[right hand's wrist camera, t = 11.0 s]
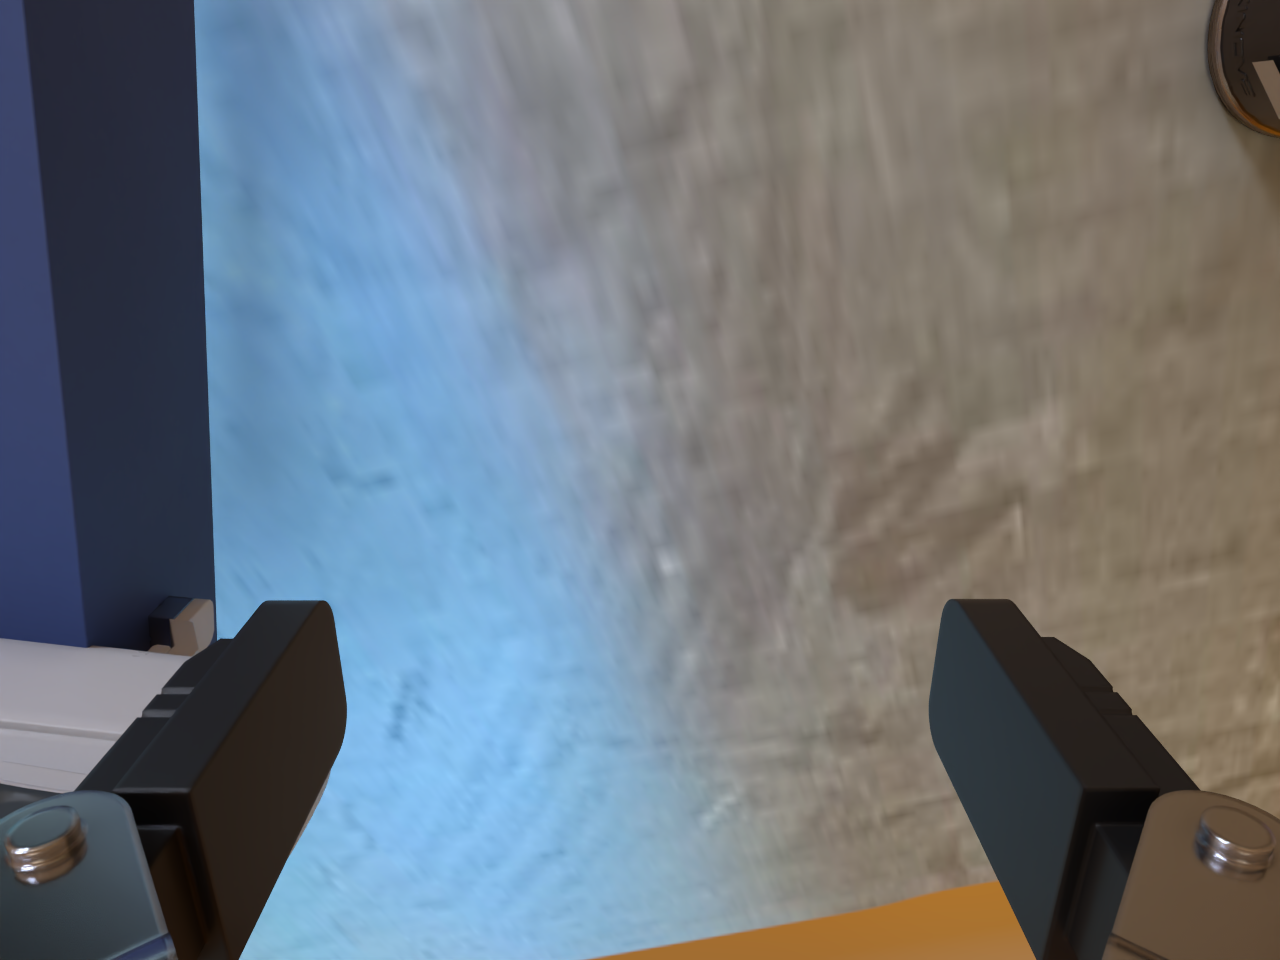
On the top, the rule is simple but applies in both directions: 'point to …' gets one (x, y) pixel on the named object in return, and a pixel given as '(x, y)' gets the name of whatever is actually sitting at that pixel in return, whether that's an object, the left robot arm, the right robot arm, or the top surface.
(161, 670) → the left robot arm
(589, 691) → the top surface
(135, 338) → the bar
